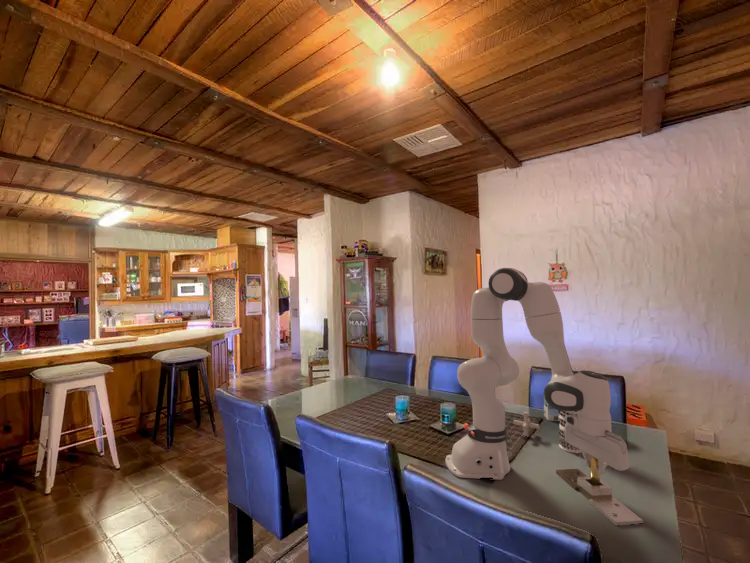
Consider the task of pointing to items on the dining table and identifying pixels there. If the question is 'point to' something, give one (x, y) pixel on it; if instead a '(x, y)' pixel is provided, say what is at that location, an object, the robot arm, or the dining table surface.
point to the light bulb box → (550, 412)
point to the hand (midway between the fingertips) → (595, 470)
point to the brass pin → (594, 471)
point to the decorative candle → (562, 440)
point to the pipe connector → (526, 424)
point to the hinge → (600, 497)
